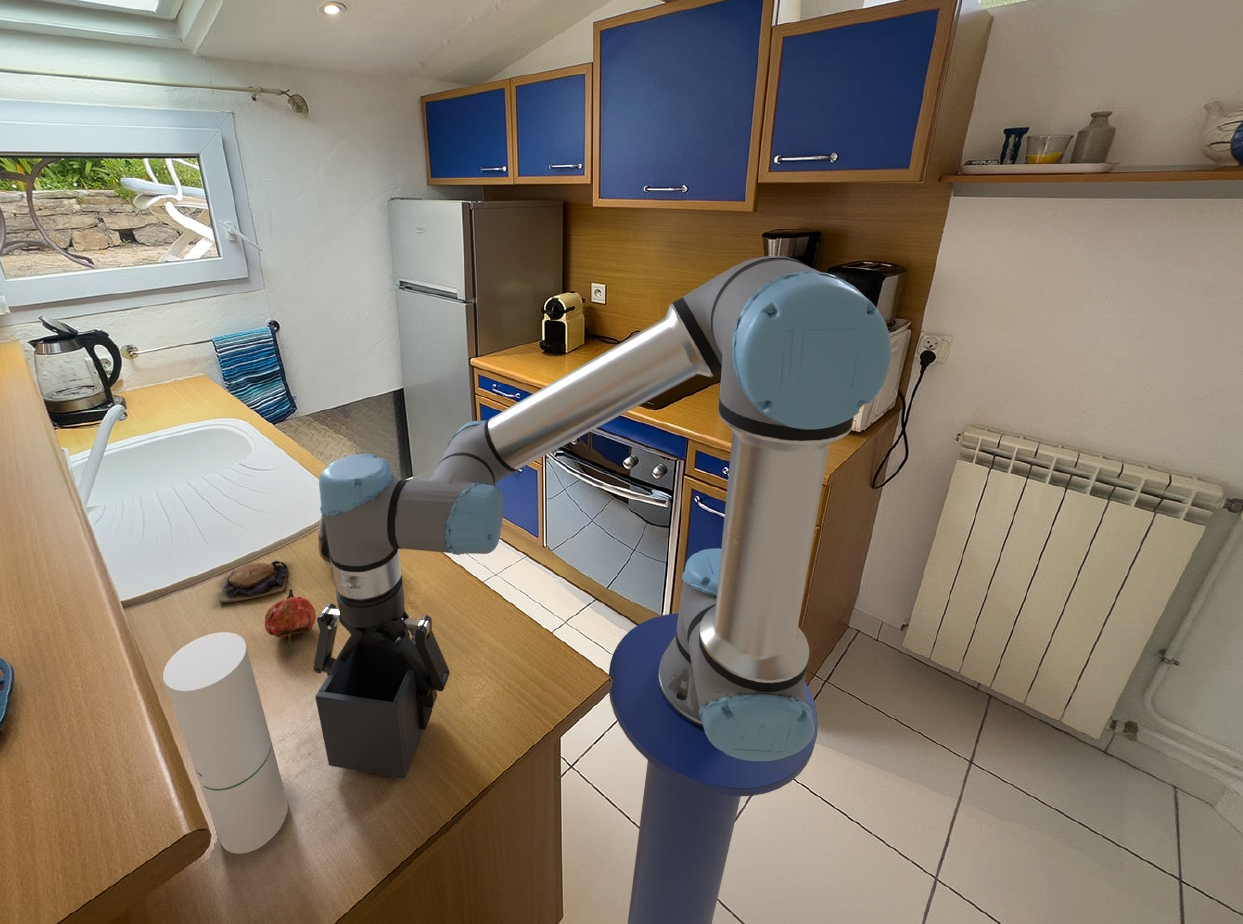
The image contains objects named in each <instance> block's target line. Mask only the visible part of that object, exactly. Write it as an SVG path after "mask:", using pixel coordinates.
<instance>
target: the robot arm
mask: <svg viewBox="0 0 1243 924" xmlns="http://www.w3.org/2000/svg"><path fill="white" fill-rule="evenodd" d="M891 361H892V341H891V335H890V331H889V329H888V325H887V323H886V321H885V319H884V317H883V315H882V314H881V312H880V310H878V308H877V306H876V305H874V303H873V302H872V301H871V300H870V299H869V298H867V297H866V296H865V295H864V294H863V293H862V292H861V291H860V290H859V289H857V287H855V286H854V285H852V284H850V283H849V282H847V280H845V279H843V278H841V277H840V276H839V277H838V276H836V275H833V274H830V273H828V272H821V271H820V270H817V269H815V268H812V267H810V266H809V265H807V264H806V263H804V262H802V261H800V260H797V259H794V258H791V257H787V256H781V255H771V256H770V255H767V256H766V255H765V256H760V257H754V258H751V259H748V260H747V259H746V260H745V261H743V262H741V263H738V264H737V265H736V264H735V265H734V266H732V267H730V268H728V269H726V270H725V271H723V272H721V273H720V274H717V276H715V277H713V278H711V279H710V280H708V281H706V282H704V283H703V284H701V285H700V286H698V287H697V288H695V289H693V290H692V291H690V292H689V293H687V294H685V295H683V296H682V297H680V298H678V299H676V300H674V301H673V302H672V303H670V304H669V306H668V309H667V312H666V315H665V316H664V317H663V318H662V319H660V320H658V321H656V322H655V323H653V324H651V325H650V326H648V327H645V328H644V329H642V330H641V331H639V332H637V333H635V334H633V335H631V337H629V338H627V339H625V340H624V341H622V342H620V343H617V345H615V346H613V347H611V348H610V349H608V350H606V351H605V352H603V353H601V354H599V355H598V356H596V357H594V358H593V359H591V360H589V361H588V362H586V363H584V364H582V365H581V366H579V367H577V368H575V369H574V370H572V371H570V372H569V373H567V374H564V375H563V376H562V377H560V378H558V379H556V380H554V381H553V382H552V383H549V384H547V385H546V386H544V387H543V388H540V389H539V390H537V391H536V392H534V393H532V394H531V395H529V396H527V397H526V398H523V399H522V400H520V401H518V402H516V403H515V404H513V405H511V406H510V407H508V408H507V409H505V410H503V411H501V412H500V413H498V414H496V415H494V416H492V417H491V418H489V419H487V420H472V421H469V422H467V423H466V424H464V425H463V426H461V427H460V428H459V429H458V431H456V433H454V434H453V436H452V438H451V439H450V440H449V442H448V444H447V447H446V450H445V451H444V453H443V455H442V457H441V459H440V460H439V462H438V463H437V465H436V467H435V470H434V471H433V472H432V475H431V476H430V478H429V480H418V479H404V478H394V476H393V472H392V470H391V465H390V463H389V462H388V461H387V460H386V459H385V458H383V457H378V456H377V455H375V454H373V453H372V454H370V453H357V454H351V455H346V456H344V457H341V458H338V459H335V460H334V461H332V462H330V463H329V464H327V466H326V468H324V469H323V470H322V472H320V475H319V478H318V487H319V498H320V507H319V509H320V514H321V515H323V519H324V524H325V529H326V534H327V539H328V545H329V550H330V560H331V565H332V568H331V572H332V576H333V583H334V588H335V596H336V602H337V606H336V604H334V603H333V602H328V603H327V604H326V606H325V607H324V608H323V610H322V611H321V613H320V614H319V615H318V617H316V622H317V627H318V630H319V634H318V640H317V644H316V650H315V654H314V655H315V656H314V662H313V668H312V671H313V672H314V673H316V674H322V672H323V673H325V674H326V676H327V677H328V675H329V673H330V672H331V670H332V669H333V667H334V665H335V664H336V662H337V661H338V660H344V664H345V662H346V661H347V659H348V657H349V656H350V654H351V653H352V651H353V650H354V648H355V646H356V645H357V643H358V642H360V643H362V645H364V646H376V647H379V648H385V650H386V651H387V652H388V654H389V655H390V656H391V657H393V656H395V657H396V658H397V660H398V661H399V662H400V663H401V665H402V666H403V667H404V669H405V670H406V671H408V670H414V675H415V683H416V684H417V685H418V686H419V687H418V689H417V692H416V699H417V708H418V718H419V727H420V729H422V730H424V731H426V729H427V727H428V724H429V722H430V719H431V716H432V714H433V708H434V705H435V702H436V701H437V698H438V692H443V691H444V690H445V687H446V685H447V683H448V680H449V678H450V674H451V671H450V668H449V666H448V664H447V662H446V659H445V657H444V654H443V652H442V650H441V648H440V646H439V643H438V641H437V639H436V637H435V634H434V631H433V626H432V625H433V620H432V618H431V616H429V615H427V614H425V615H423V616H422V617H421V619H417V618H412V617H410V616H409V614H408V612H407V611H406V609H405V592H404V590H405V589H404V582H403V576H402V572H403V570H402V562H401V555H400V550H414V551H424V552H434V553H444V554H445V553H447V554H452V555H457V556H460V555H465V554H467V555H469V554H472V555H473V554H474V555H475V554H476V555H487V554H490V553H492V552H494V551H495V550H496V548H497V546H498V545H499V542H500V539H501V535H502V534H501V532H502V527H503V521H504V520H503V519H504V518H503V517H504V498H503V493H502V491H501V489H500V488H499V487H498V486H496V484H497V483H498V482H499V481H500V480H502V479H503V478H504V479H505V478H506V477H508V476H510V475H512V474H513V473H515V472H517V471H519V470H520V469H522V468H524V467H526V466H528V465H529V464H531V463H533V462H535V461H537V460H539V459H541V458H542V457H545V456H547V455H548V454H550V453H551V452H554V451H556V450H558V449H559V448H562V447H563V446H565V445H567V444H570V443H571V442H573V441H575V440H577V439H578V438H580V437H582V436H585V435H586V434H588V433H590V432H592V431H593V430H595V429H598V428H599V427H601V426H603V425H605V424H607V423H610V422H611V421H613V420H615V419H617V418H618V417H620V416H622V415H624V414H626V413H627V412H629V411H631V410H633V409H635V408H637V407H638V406H641V405H642V404H644V403H646V402H648V401H650V400H652V399H654V398H656V397H658V396H660V395H661V394H663V393H665V392H667V391H669V390H671V389H672V388H675V387H676V386H679V385H680V384H682V383H684V382H686V381H688V380H689V379H692V378H693V377H696V376H697V375H700V376H703V377H708V378H713V377H715V376H716V375H719V374H720V373H721V374H720V383H719V384H720V385H719V399H718V410H717V411H718V416H719V418H720V420H721V421H722V422H723V423H724V424H725V425H726V426H727V427H728V428H729V429H730V430H731V431H732V434H731V435H732V436H731V445H730V456H729V457H730V458H729V467H728V476H727V489H726V499H725V507H724V516H723V517H724V518H723V529H722V539H721V548H707V549H702V550H699V551H698V552H696V553H693V554H692V555H691V556H690V557H689V558H688V559H687V560H686V563H685V567H684V572H683V573H682V575H681V579H682V584H681V585H682V586H681V593H680V601H679V608H678V613H679V615H678V622H677V630H676V635H675V637H674V639H673V640H672V642H671V643H670V645H669V646H668V648H667V649H666V651H665V652H664V654H663V656H662V659H661V662H660V665H659V672H658V683H659V688H660V691H661V693H662V696H663V698H664V699H665V701H666V702H667V704H668V705H669V706H670V708H671V709H672V710H673V711H674V712H675V713H676V714H677V715H678V716H680V717H681V718H682V719H684V720H685V721H687V722H688V723H690V724H692V725H694V726H696V727H698V728H701V729H704V731H705V734H706V736H707V738H708V739H709V741H710V742H711V743H712V744H713V745H714V746H715V747H716V748H717V749H719V750H721V751H723V752H724V753H725V754H727V755H729V756H732V757H735V758H738V759H742V760H749V761H771V760H778V759H782V758H785V757H787V756H790V755H793V754H795V753H797V752H799V751H800V750H802V749H803V748H804V747H806V746H807V745H808V743H809V742H810V741H811V739H812V737H813V735H814V727H815V726H814V722H813V718H812V716H813V715H812V714H813V712H812V710H811V708H810V707H809V705H807V703H806V699H805V695H804V681H805V680H806V675H807V670H808V665H809V658H810V646H809V643H808V639H807V637H806V635H805V634H804V632H803V630H802V629H801V628H800V627H799V623H800V616H801V611H802V605H803V599H804V594H805V589H806V583H807V576H808V570H809V565H810V559H811V554H812V548H813V542H814V536H815V531H816V524H817V518H818V513H819V507H820V501H821V497H822V496H821V495H822V490H823V485H824V478H825V472H826V468H827V467H826V466H827V460H828V455H829V449H830V445H831V444H833V443H835V442H836V441H839V440H840V439H843V438H844V437H846V436H848V435H849V433H850V432H851V431H852V427H853V424H854V419H855V416H857V415H858V414H860V409H861V408H862V407H863V406H864V405H866V404H871V403H872V402H873V401H874V400H875V398H876V397H877V395H878V394H879V393H880V391H881V390H882V388H883V385H884V384H885V381H886V379H887V376H888V373H889V371H890V366H891ZM339 623H340V625H342V627H343V628H344V629H345V630H346V631H347V632H348V633H349V634H350V636H349V637H348V639H347V641H346V642H345V644H344V645H343V647H342V649H341V650H340V652H339V654H338V655H337V656H336V658H334V657H332V656H333V653H334V652H333V651H334V647H335V643H336V642H335V641H336V636H337V631H338V627H339ZM410 634H411V635H410ZM412 640H413V641H415V644H416V646H415V644H414V643H413V642H412ZM394 642H395V643H394ZM805 682H806V681H805Z"/></svg>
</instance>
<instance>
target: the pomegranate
mask: <svg viewBox="0 0 1243 924" xmlns="http://www.w3.org/2000/svg"><path fill="white" fill-rule="evenodd" d="M293 591H294V590H293V589H292V588H290V589H288V596H287V597H286V599H281V600H279V601H277V602H276V603H274V604H273V605H272V606H271V607H270V608H269V609H268V610H267V612H266V614H265V616H264V617H265V618H264V629H265V631H266V633H267V634H268V635H269V636H274V637H276V638H280V639H281V638H286V637H288V648H287V649H288V650H287V653H288V654H287V655H288V656H290V654H291V646H292V644H293V643H292V635H296V634H305V633H309V632H310V631H312V628H313V627H314V625H315V623H316V620H317V617H316V610H315V608H314V606H313V604H312V603H311V602H310V601H309V600H307V599H306V598H305V597H303V596H294V593H293Z"/></svg>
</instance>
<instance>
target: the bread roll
mask: <svg viewBox="0 0 1243 924" xmlns="http://www.w3.org/2000/svg"><path fill="white" fill-rule="evenodd" d="M287 577H288V566H287V564H286V563H284V562H283V561H279V560H274V561H272V562H271V563H267V562H255V561H254V562H250V563H246V564H245V565H242V566H240V567H238V568H237V569H235V570H233V571H232V572H231V573H230V574H227V575H225V576H224V579H223V583H222V586H221V587H222V588H221V592H220V596H219V599H218V600H219V602H218V603H219V604H228V603H234V602H235V603H236V602H242V601H243V602H245V601H247V600H252V599H257V598H261V597H267V596H268V595H272V594H278V593H281V592H284V591H285V590H286V588H287V581H288V578H287Z"/></svg>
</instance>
